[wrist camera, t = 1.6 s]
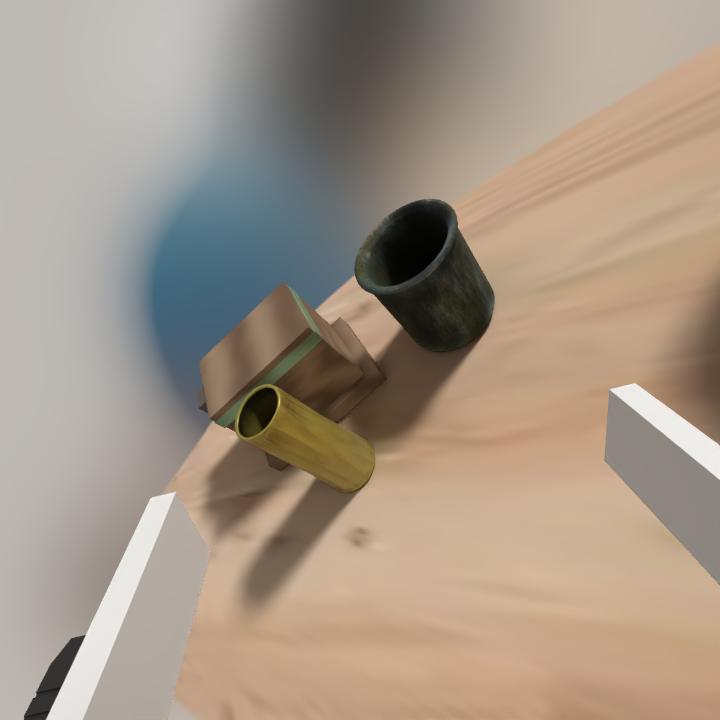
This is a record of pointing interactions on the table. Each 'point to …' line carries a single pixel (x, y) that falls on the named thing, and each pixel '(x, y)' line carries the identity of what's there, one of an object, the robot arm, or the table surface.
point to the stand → (287, 362)
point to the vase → (304, 438)
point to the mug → (426, 275)
